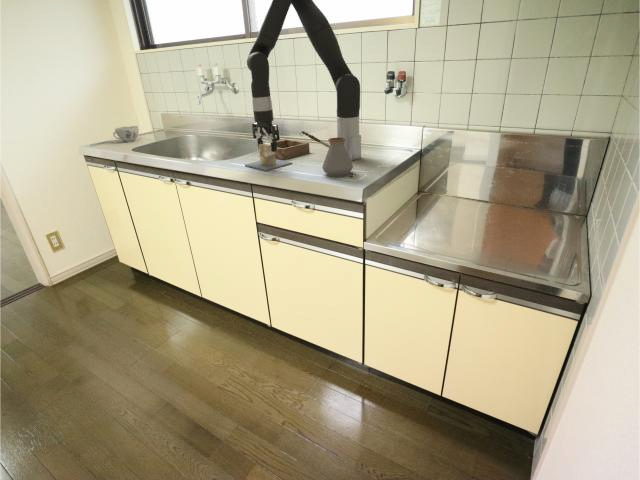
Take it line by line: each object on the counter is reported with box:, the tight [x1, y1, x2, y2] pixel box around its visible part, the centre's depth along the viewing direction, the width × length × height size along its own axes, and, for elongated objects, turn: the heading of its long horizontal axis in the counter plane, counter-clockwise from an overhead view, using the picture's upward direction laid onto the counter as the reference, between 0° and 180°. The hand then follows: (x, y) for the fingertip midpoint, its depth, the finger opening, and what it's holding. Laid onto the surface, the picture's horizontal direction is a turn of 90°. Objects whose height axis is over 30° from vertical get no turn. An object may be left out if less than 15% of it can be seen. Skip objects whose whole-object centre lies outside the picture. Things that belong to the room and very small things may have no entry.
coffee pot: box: [299, 130, 354, 178], centre depth 141 cm, size 21×12×15 cm, turn 59°
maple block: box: [258, 142, 277, 166], centre depth 156 cm, size 4×4×8 cm
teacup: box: [112, 125, 139, 143], centre depth 222 cm, size 15×12×8 cm
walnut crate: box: [275, 138, 310, 161], centre depth 175 cm, size 16×16×4 cm
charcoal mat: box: [244, 158, 293, 172], centre depth 158 cm, size 14×14×1 cm
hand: (267, 150), depth 156 cm, fingers open, 8 cm apart
